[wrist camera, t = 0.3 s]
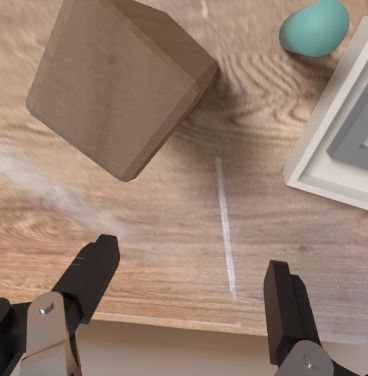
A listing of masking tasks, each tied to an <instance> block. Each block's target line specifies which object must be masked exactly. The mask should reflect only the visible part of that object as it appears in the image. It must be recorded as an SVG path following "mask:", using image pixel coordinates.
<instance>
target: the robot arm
mask: <svg viewBox="0 0 368 376" xmlns="http://www.w3.org/2000/svg"><path fill="white" fill-rule="evenodd" d="M119 261H120V253H119V247H118V241H117V237H116V236H113V235H106V234H101V235H100V236H99V238H98V239H97V241H96V242H95V243H92V242H90V243H89V244H88V245H86V246H85V247H84V248H82V249H81V251H80V252H79V253H78V255H77V256H76V258H75V259H74V260H73V262H72V263H71V265H70V266H69V267H68V268H67V270H66V271H65V273H64V274H63V275H62V277H61V278H60V279H59V281H58V282H57V284H56V285H55V286H54V288H53V289H52V290H51V291H50V292H47V293H44V294H42V295H40V296H39V297H37V298H36V299H35V300H34V301H33V302H27V303H20V304H12V305H11V304H10V302H9V301H8V300H7V299H6V298H0V376H10V374H11V373H12V371H13V370H14V368H15V366H16V365H17V363H18V362H19V360H20V358H21V357H22V355H23V353H25V352H26V357H25V358H24V359H22V361H21V364H20V376H82V371H81V364H80V356H79V348H78V341H77V333H76V329H77V327H78V326H79V324H80V323H83V324H87V325H88V323H89V321H90V320H91V318H92V316H93V314H94V312H95V310H96V308H97V306H98V304H99V302H100V300H101V298H102V296H103V294H104V293H105V291H106V289H107V287H108V285H109V283H110V281H111V279H112V277H113V275H114V273H115V271H116V269H117V267H118V265H119ZM264 302H265V312H266V323H267V333H268V343H269V353H270V363H271V364H273V365H278V371H277V372H276V374H275V375H274V376H359V375H357V374H355V373H353V372H351V371H349V370H348V369H346V368H344V367H342V366H340V365H339V364H337V363H336V362H335V361H333V360H332V359H331V358H330V356H329V355H328V353H327V352H326V351H325V350H324V349H323V347H322V345H321V343H320V340H319V336H318V332H317V329H316V325H315V321H314V317H313V313H312V310H311V307H310V302H309V298H308V294H307V291H306V287H305V285H304V283H303V282H302V280H301V279H300V277H299V276H298V275H293V274H290V271H289V267H288V263H287V262H282V261H276V260H270V262H269V266H268V269H267V273H266V276H265V279H264ZM365 376H368V374H367V375H365Z"/></svg>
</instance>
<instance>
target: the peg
mask: <svg viewBox="0 0 368 376" xmlns="http://www.w3.org/2000/svg"><path fill="white" fill-rule="evenodd" d="M348 27H349V14H348V12H347V10H346V8H345V7H344V5H342V4H341V3H340V2H338V1H335V0H324V1H321V2H318V3H316V4H314V5H312V6H309V7H307V8H305V9H303V10H301V11H298V12H296V13H294V14H292V15H290V16H289V17H288V18H287V19H286V20H285V21H284V23H283V24H282V26H281V29H280V32H279V40H280V43H281V45H282V47H283V48H284V49H285V50H287V51H290V52H294V53H298V54H303V55H307V56H311V57H320V56H324V55H327V54H329V53H330V52H332V51H333V50H335V49H336V48H337V47H338V46H339V45H340V44H341V42H342V41H343V40H344V38H345V36H346V34H347V31H348Z"/></svg>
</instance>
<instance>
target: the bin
mask: <svg viewBox="0 0 368 376" xmlns="http://www.w3.org/2000/svg"><path fill="white" fill-rule="evenodd" d="M281 171H282V174H283V177H284V180H285V183H286V185H288V186H291V187H294V188H298V189H301V190H304V191H307V192H311V193H314V194H317V195H320V196H324V197H327V198H330V199H333V200H337V201H340V202H343V203H346V204H350V205H353V206H356V207H359V208H363V209H366V210H368V16H364V17H363V18H362V20H361V21H360V23H359V25H358V27H357V29H356V31H355V33H354V35H353V36H352V38H351V40H350V42H349V44H348V46H347V48H346V50H345V51H344V53H343V55H342V57H341V59H340V61H339V63H338V65H337V67H336V68H335V70H334V72H333V74H332V76H331V78H330V80H329V82H328V83H327V85H326V87H325V89H324V91H323V93H322V95H321V97H320V99H319V100H318V102H317V104H316V106H315V108H314V110H313V112H312V114H311V115H310V117H309V119H308V121H307V123H306V125H305V127H304V129H303V131H302V132H301V134H300V136H299V138H298V140H297V142H296V144H295V146H294V147H293V149H292V151H291V153H290V155H289V157H288V159H287V161H286V162H285V164H284V166H283V168H282V170H281Z"/></svg>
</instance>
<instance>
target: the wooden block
mask: <svg viewBox="0 0 368 376" xmlns="http://www.w3.org/2000/svg"><path fill="white" fill-rule="evenodd" d="M217 69H218V65H217V62H216V60H215V59H214V58H212V57H211V56H210V55H209V54H208V53H207V52H206V51H205V50H204V49H203V48H202V47H201V46H200V45H199V44H198V43H197V42H196V41H195V40H194V39H193V38H192V37H191V36H190V35H189V34H188V33H187V32H186V31H185V30H183V29H182V28H181V27H180V26H179V25H178V24H177V23H176V22H175V21H174V20H173V19H172V18H171V17H170V16H169V15H168V14H167V13H165V12H163V11H160V10H157V9H155V8H152V7H149V6H147V5H144V4H141V3H139V2H136V1H133V0H64V1H63V4H62V7H61V9H60V12H59V14H58V17H57V20H56V22H55V25H54V28H53V30H52V33H51V36H50V38H49V41H48V43H47V46H46V49H45V51H44V54H43V57H42V59H41V62H40V65H39V67H38V70H37V72H36V75H35V78H34V80H33V83H32V86H31V88H30V91H29V94H28V96H27V99H26V108H27V109H28V111H29V112H30V113H31V115H33V116H34V117H35V118H37V119H38V120H39V121H41V122H42V123H43V124H45V125H46V126H47V127H49V128H50V129H51V130H53V131H54V132H55V133H57V134H58V135H59V136H61V137H62V138H63V139H65V140H66V141H67V142H69V143H70V144H71V145H73V146H74V147H75V148H77V149H78V150H79V151H81V152H82V153H83V154H85V155H86V156H87V157H89V158H90V159H91V160H93V161H94V162H95V163H97V164H98V165H99V166H101V167H102V168H103V169H105V170H106V171H107V172H109V173H110V174H111V175H113V176H114V177H115V178H117V179H118V180H120V181H123V182H128V181H130V180H132V179H135V178H136V177H137V176H138V175H139V174H140V172H141V171H142V170H143V169H144V168H145V166H146V165H147V164H148V163H149V161H150V160H151V159H152V158H153V157H154V155H155V154H156V153H157V152H158V151H159V149H160V148H161V147H162V146H163V144H164V143H165V142H166V141H167V140H168V138H169V137H170V136H171V135H172V134H173V132H174V131H175V130H176V129H177V128H178V126H179V125H180V124H181V123H182V121H183V120H184V119H185V118H186V117H187V115H188V114H189V113H190V112H191V111H192V109H193V108H194V107H195V106H196V105H197V103H198V102H199V100H200V98H201V97H202V95H203V93H204V92H205V90H206V89H207V87H208V85H209V84H210V82H211V80H212V79H213V77H214V76H215V74H216V72H217Z"/></svg>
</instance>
